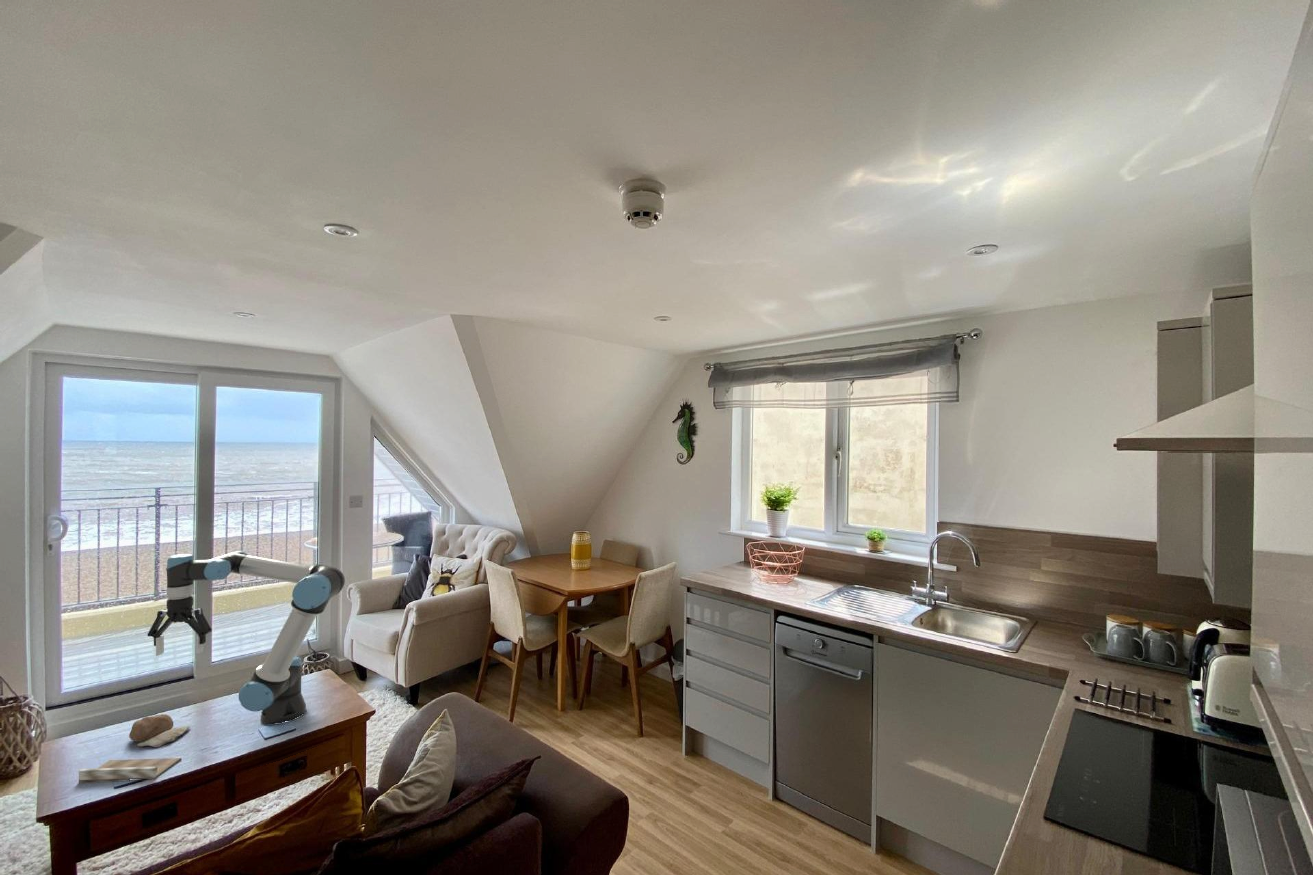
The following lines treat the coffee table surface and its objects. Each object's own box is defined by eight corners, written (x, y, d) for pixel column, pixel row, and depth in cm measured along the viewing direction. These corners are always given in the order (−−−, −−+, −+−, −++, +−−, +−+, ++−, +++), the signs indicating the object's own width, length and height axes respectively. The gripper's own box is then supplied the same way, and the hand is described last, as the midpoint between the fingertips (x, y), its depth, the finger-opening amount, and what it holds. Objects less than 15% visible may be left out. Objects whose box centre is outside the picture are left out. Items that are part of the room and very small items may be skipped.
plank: (181, 762, 189) (181, 749, 189) (154, 782, 178) (154, 768, 178) (110, 764, 187) (110, 751, 187) (78, 784, 176) (78, 770, 176)
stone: (130, 753, 197) (146, 731, 197) (116, 734, 199) (132, 713, 199) (166, 739, 209) (182, 718, 209) (152, 722, 211) (168, 701, 211)
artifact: (135, 740, 196) (179, 719, 211) (135, 749, 196) (179, 727, 211) (157, 742, 195) (199, 721, 209) (157, 751, 195) (199, 729, 209)
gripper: (223, 592, 209) (223, 648, 209) (151, 594, 206) (151, 651, 206) (209, 598, 201) (209, 655, 201) (134, 600, 198) (134, 659, 198)
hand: (179, 653), depth 203 cm, fingers open, 13 cm apart
